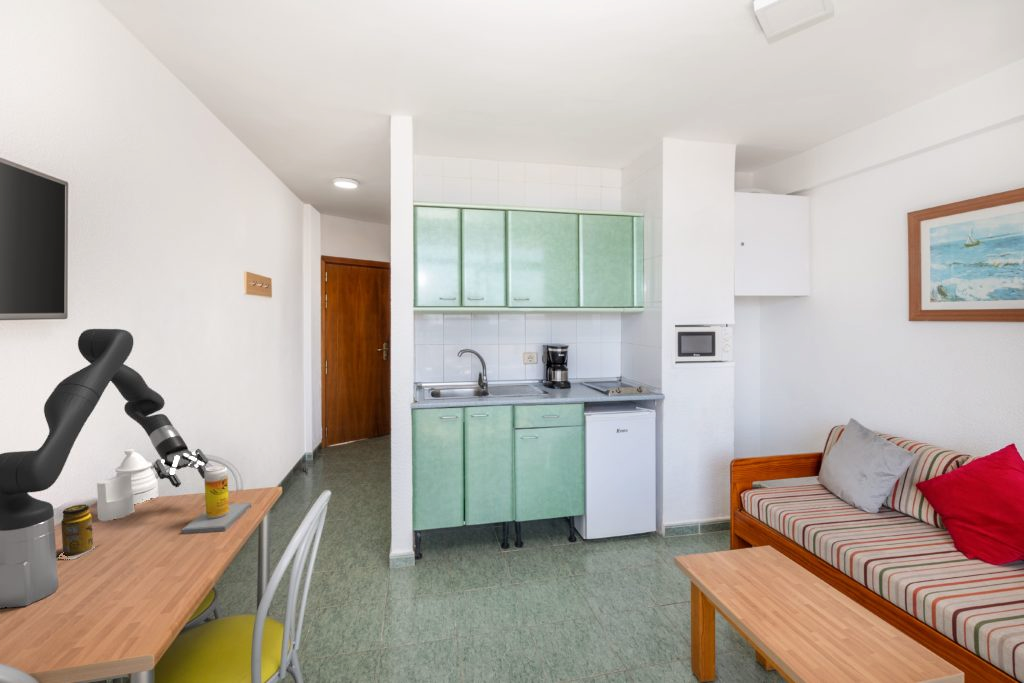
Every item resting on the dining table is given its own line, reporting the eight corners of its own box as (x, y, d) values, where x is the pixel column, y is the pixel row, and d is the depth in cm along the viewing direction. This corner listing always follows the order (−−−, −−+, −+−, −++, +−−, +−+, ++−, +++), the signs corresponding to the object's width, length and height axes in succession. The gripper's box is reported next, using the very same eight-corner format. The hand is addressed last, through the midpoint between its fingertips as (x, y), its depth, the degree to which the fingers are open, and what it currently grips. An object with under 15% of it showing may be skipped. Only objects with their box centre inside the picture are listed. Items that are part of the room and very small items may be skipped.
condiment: (102, 544, 130) (99, 502, 130) (74, 559, 122) (71, 515, 121) (75, 545, 130) (72, 503, 130) (46, 560, 122) (43, 516, 121)
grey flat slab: (225, 530, 137) (225, 526, 137) (181, 533, 136) (181, 529, 136) (251, 506, 155) (251, 502, 155) (212, 508, 154) (212, 505, 154)
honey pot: (144, 504, 158) (141, 452, 157) (102, 507, 156) (98, 455, 155) (166, 491, 171) (163, 442, 170) (127, 493, 169) (124, 444, 168)
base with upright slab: (117, 508, 155) (115, 473, 154) (141, 509, 154) (139, 474, 153) (90, 520, 146) (87, 483, 146) (115, 521, 145) (112, 484, 144)
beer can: (221, 519, 142) (218, 471, 142) (201, 519, 143) (199, 471, 142) (233, 511, 148) (231, 464, 148) (214, 511, 149) (212, 465, 148)
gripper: (149, 440, 146) (174, 481, 142) (195, 430, 159) (219, 467, 155) (139, 455, 148) (164, 496, 144) (185, 444, 161) (209, 480, 157)
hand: (192, 481), depth 150 cm, fingers open, 8 cm apart
